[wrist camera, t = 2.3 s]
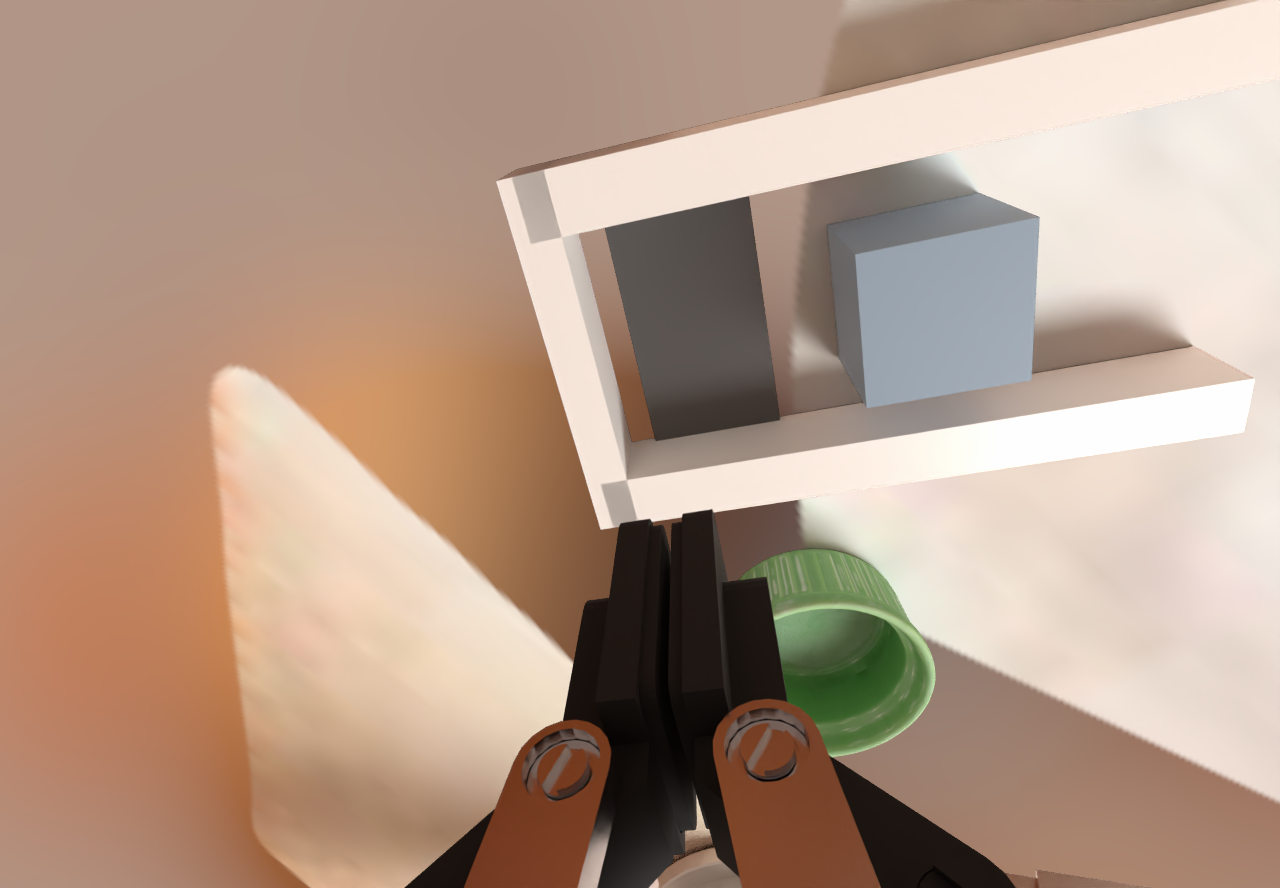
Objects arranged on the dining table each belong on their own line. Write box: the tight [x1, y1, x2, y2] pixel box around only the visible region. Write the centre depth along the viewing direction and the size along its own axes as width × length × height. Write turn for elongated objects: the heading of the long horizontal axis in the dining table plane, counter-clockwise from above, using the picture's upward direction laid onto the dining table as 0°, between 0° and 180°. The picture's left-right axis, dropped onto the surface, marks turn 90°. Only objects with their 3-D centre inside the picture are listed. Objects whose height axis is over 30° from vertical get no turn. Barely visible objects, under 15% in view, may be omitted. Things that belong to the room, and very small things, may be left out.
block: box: [827, 193, 1039, 408], centre depth 22 cm, size 5×5×4 cm
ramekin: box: [739, 549, 935, 757], centre depth 30 cm, size 9×9×4 cm
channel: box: [496, 0, 1280, 529], centre depth 23 cm, size 13×22×3 cm, turn 103°
